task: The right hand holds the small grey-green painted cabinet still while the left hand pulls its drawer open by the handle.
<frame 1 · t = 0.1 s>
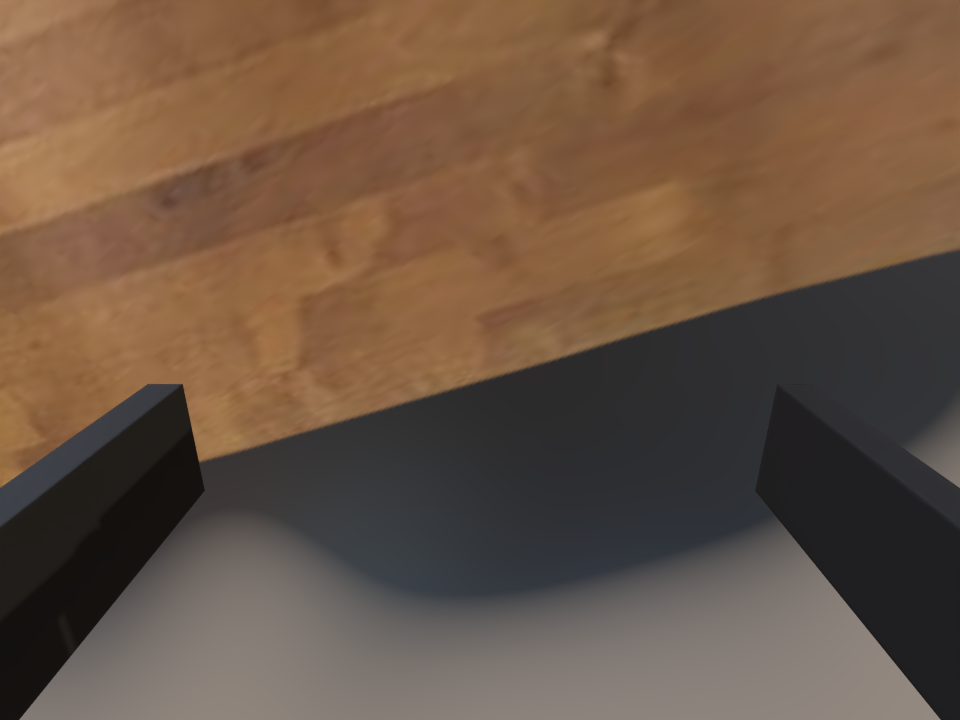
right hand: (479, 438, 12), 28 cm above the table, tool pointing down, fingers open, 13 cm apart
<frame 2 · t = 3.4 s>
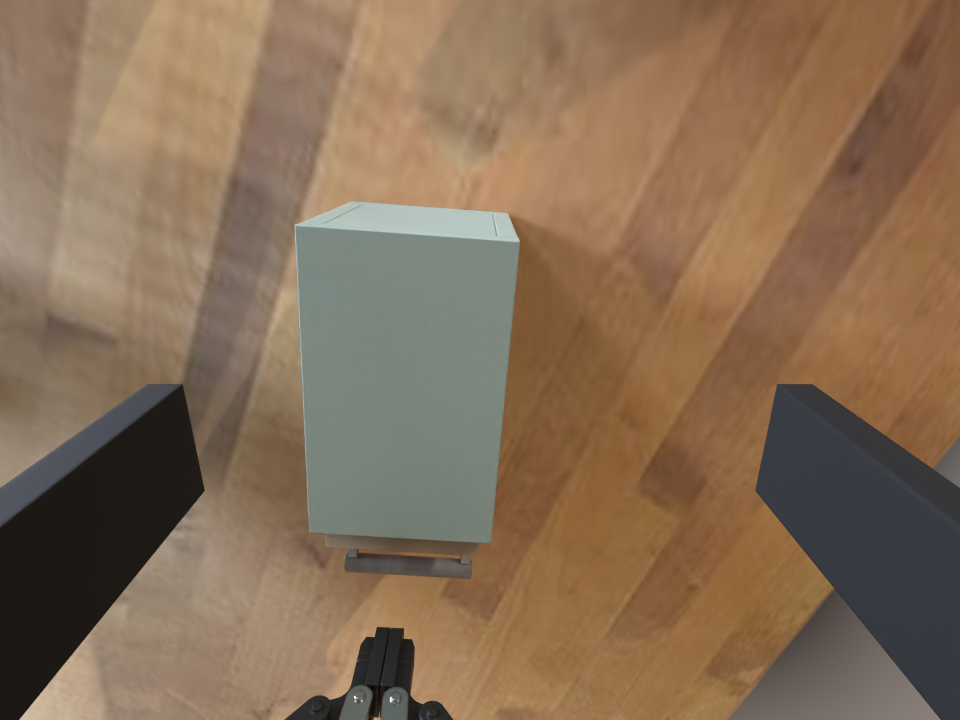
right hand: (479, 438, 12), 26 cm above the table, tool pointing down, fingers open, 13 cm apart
cabinet: (425, 331, 39), on the table
drawer: (413, 438, 35), point 6 cm above the table, slide at 0.6 cm
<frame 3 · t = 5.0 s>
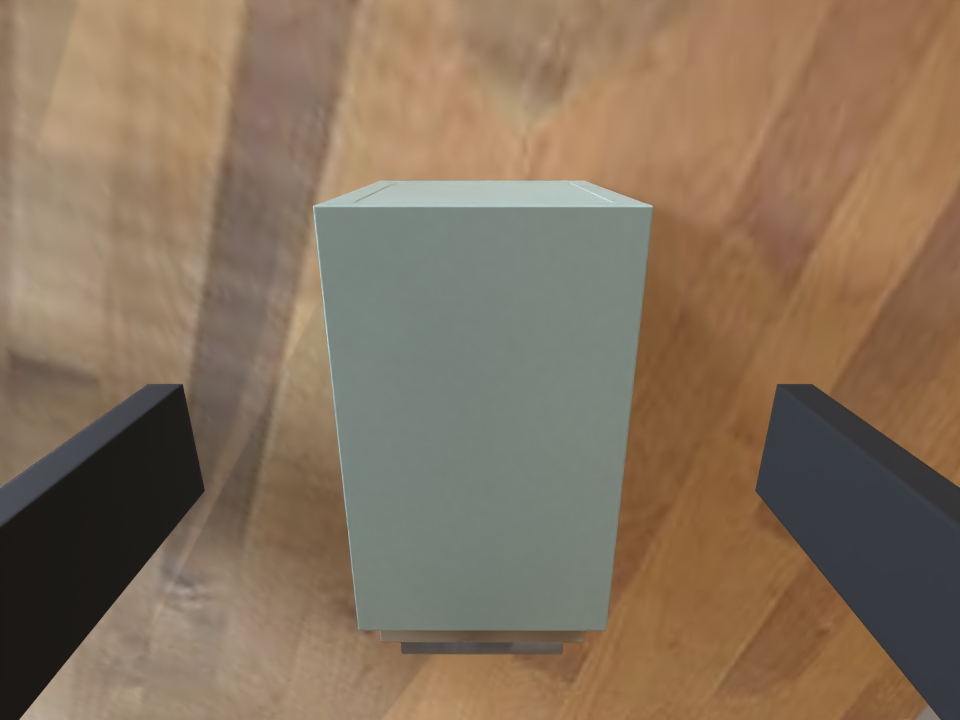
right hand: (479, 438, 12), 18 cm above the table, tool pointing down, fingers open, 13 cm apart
cabinet: (482, 342, 30), on the table
drawer: (482, 484, 27), point 6 cm above the table, slide at 0.6 cm
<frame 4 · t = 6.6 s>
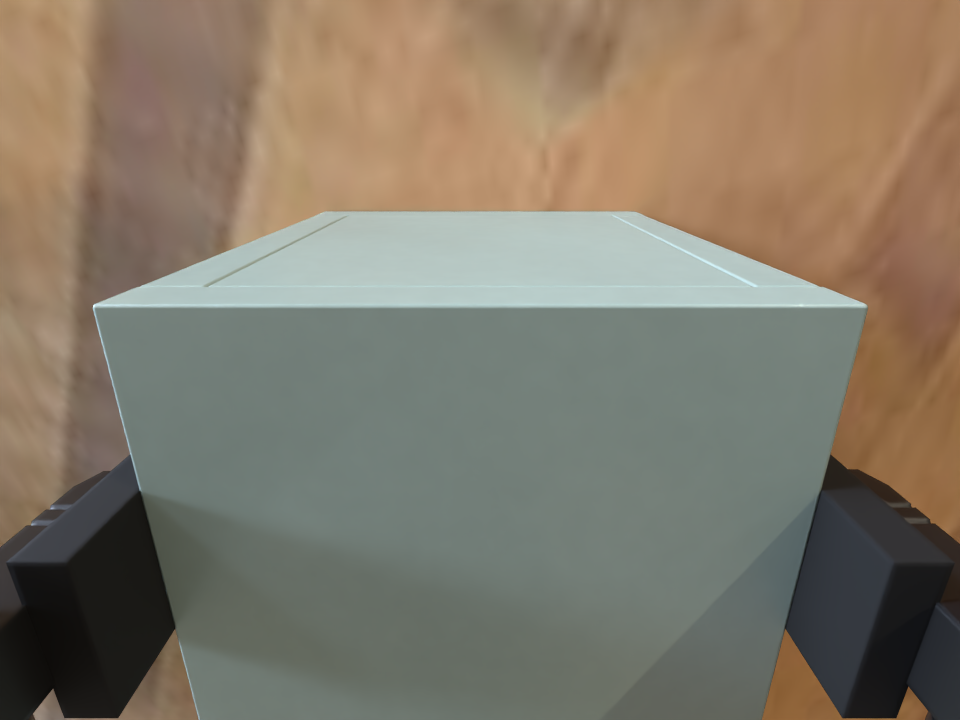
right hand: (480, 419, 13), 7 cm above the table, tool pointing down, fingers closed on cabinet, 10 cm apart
cabinet: (480, 440, 21), on the table, touching right hand
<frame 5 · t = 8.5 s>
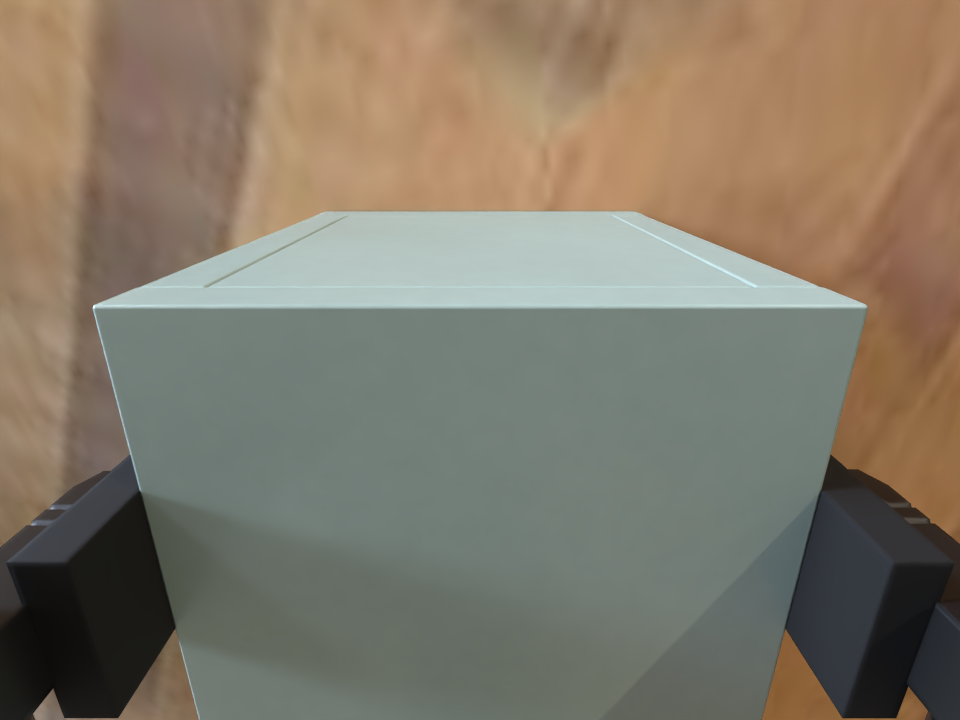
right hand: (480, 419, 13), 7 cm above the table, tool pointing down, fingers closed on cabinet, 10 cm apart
cabinet: (480, 439, 21), on the table, touching right hand
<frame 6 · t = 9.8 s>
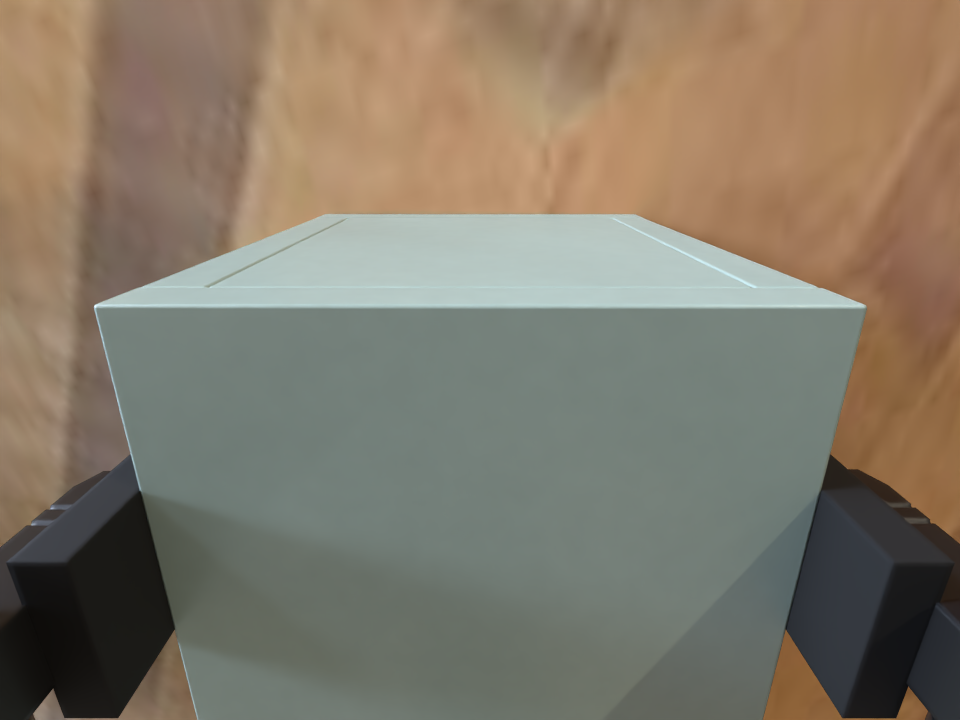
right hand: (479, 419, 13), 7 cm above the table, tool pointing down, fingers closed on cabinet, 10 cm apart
cabinet: (479, 442, 21), on the table, touching right hand
when the right hand's fingers open (7 cm above the table, at t = 10.7 s): cabinet stays where it is, on the table.
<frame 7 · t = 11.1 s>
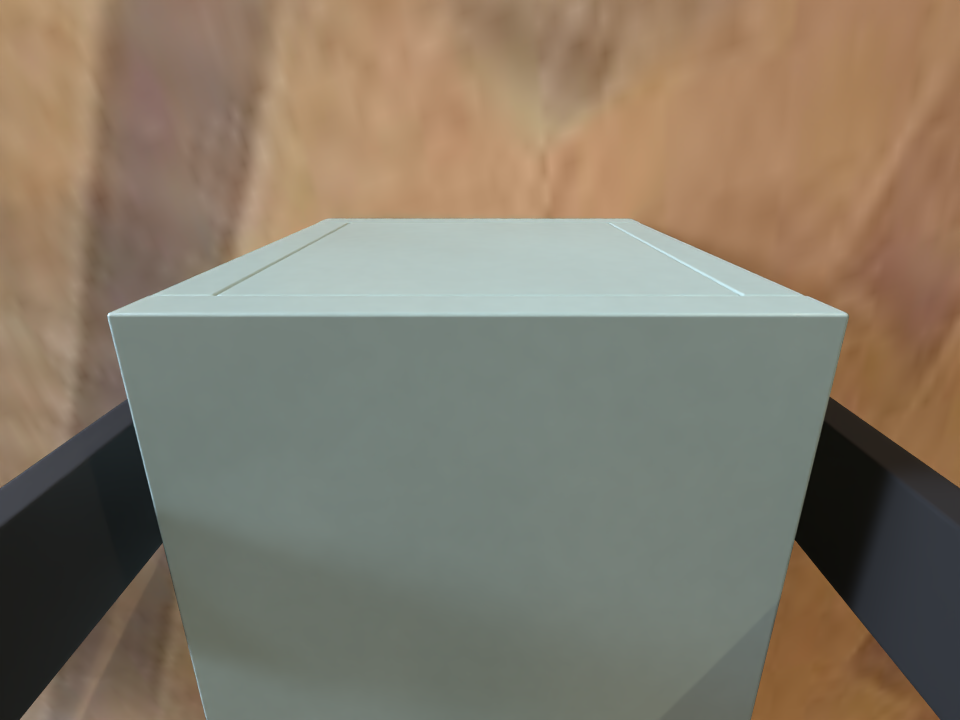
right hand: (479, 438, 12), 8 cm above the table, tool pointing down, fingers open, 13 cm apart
cabinet: (479, 443, 21), on the table
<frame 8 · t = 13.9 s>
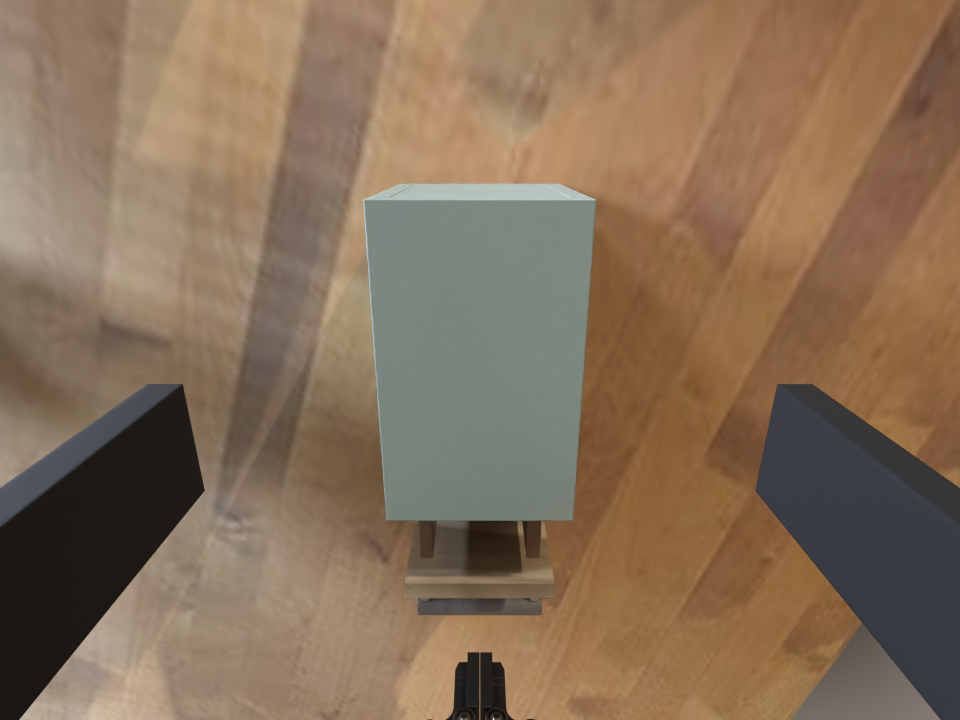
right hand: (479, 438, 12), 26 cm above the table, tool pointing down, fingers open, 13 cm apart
cabinet: (479, 312, 38), on the table
drawer: (479, 483, 36), point 6 cm above the table, slide at 5.2 cm
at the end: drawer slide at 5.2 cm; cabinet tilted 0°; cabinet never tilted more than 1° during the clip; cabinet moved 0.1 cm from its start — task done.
